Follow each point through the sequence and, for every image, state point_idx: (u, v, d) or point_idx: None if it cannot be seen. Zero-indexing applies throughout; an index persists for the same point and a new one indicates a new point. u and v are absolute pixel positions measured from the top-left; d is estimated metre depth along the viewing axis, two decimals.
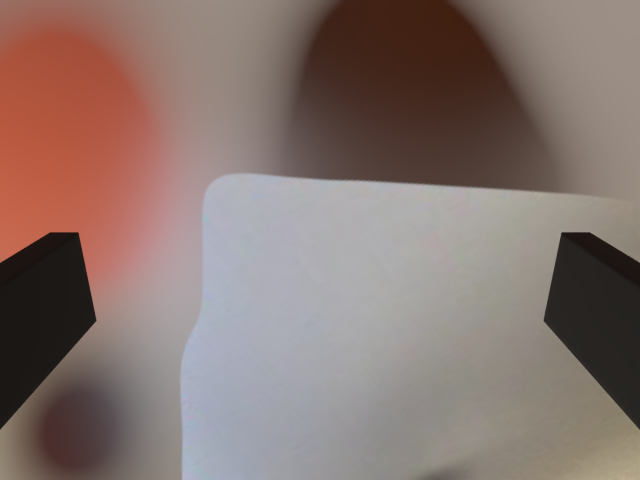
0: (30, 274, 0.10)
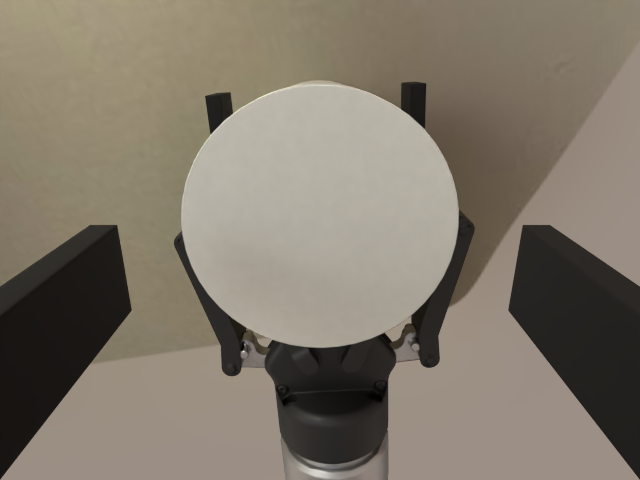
0: (79, 263, 0.11)
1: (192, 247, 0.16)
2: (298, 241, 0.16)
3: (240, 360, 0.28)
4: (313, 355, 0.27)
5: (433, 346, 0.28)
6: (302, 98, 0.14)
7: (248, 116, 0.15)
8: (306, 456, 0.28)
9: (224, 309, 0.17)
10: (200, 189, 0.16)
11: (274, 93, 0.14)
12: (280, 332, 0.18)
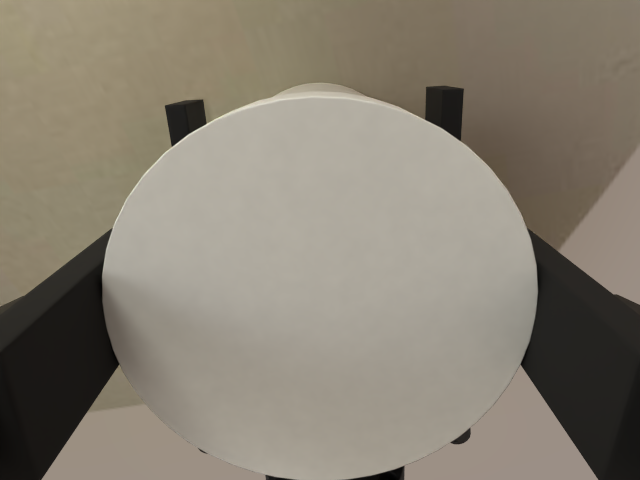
0: None
1: (122, 345, 0.11)
2: (286, 337, 0.10)
3: None
4: None
5: None
6: (291, 118, 0.09)
7: (202, 148, 0.09)
8: None
9: (176, 431, 0.11)
10: (129, 261, 0.10)
11: (244, 110, 0.09)
12: (261, 461, 0.12)
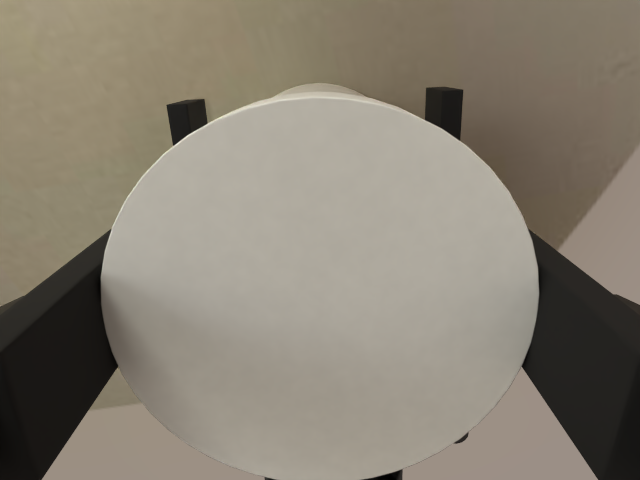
0: None
1: (367, 471, 0.12)
2: (341, 350, 0.10)
3: None
4: None
5: None
6: (133, 366, 0.11)
7: (175, 422, 0.11)
8: None
9: (463, 433, 0.11)
10: (283, 465, 0.12)
11: (138, 396, 0.11)
12: (506, 359, 0.11)
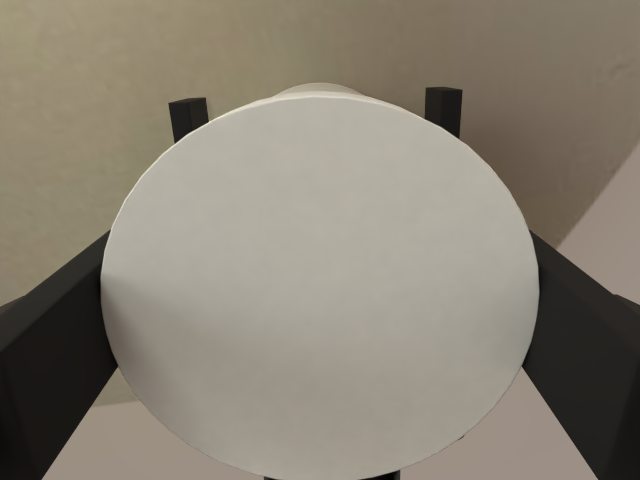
0: None
1: (521, 248, 0.10)
2: (348, 300, 0.10)
3: None
4: None
5: None
6: (385, 463, 0.12)
7: (449, 433, 0.11)
8: None
9: (457, 144, 0.09)
10: (509, 337, 0.10)
11: (420, 460, 0.12)
12: (340, 121, 0.09)
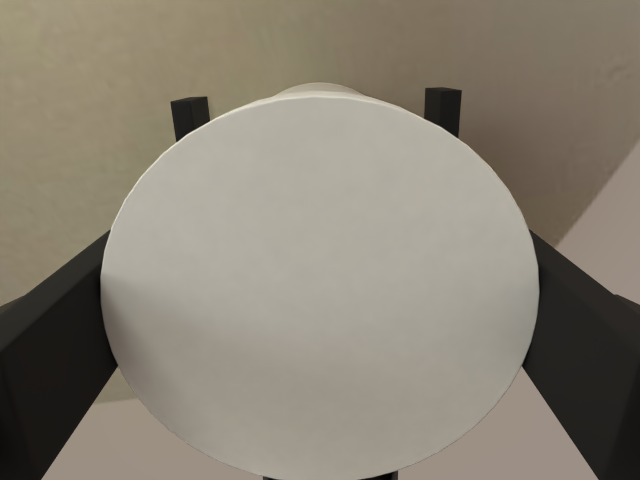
0: None
1: (198, 144, 0.09)
2: (289, 301, 0.10)
3: None
4: None
5: None
6: (508, 229, 0.09)
7: (459, 162, 0.09)
8: None
9: (113, 235, 0.09)
10: (310, 125, 0.09)
11: (504, 188, 0.09)
12: (124, 330, 0.10)
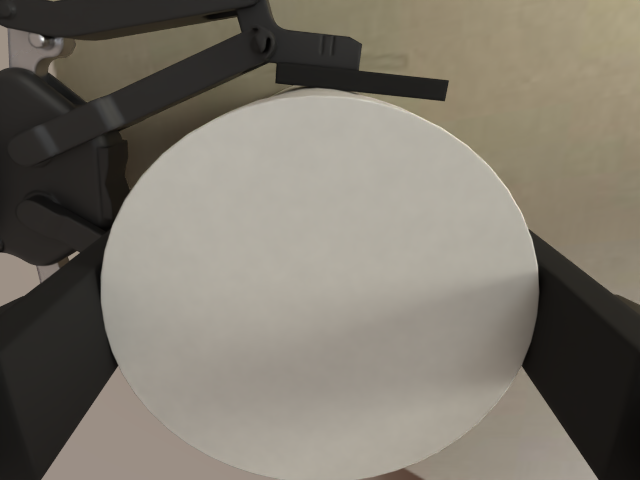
0: None
1: (198, 144, 0.09)
2: (289, 301, 0.10)
3: (24, 30, 0.17)
4: (45, 160, 0.18)
5: None
6: (508, 229, 0.09)
7: (459, 162, 0.09)
8: None
9: (113, 234, 0.09)
10: (310, 125, 0.09)
11: (504, 188, 0.09)
12: (124, 330, 0.10)
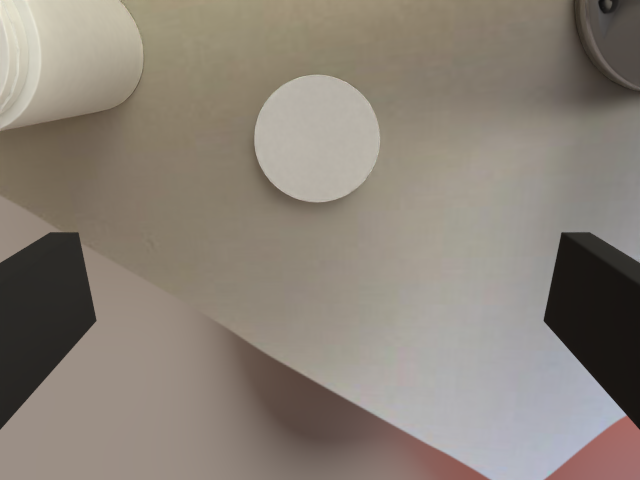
0: (30, 274, 0.10)
1: (285, 87, 0.34)
2: (308, 134, 0.35)
3: None
4: None
5: None
6: (368, 112, 0.34)
7: (353, 92, 0.34)
8: None
9: (260, 113, 0.35)
10: (314, 82, 0.34)
11: (366, 100, 0.34)
12: (260, 144, 0.35)
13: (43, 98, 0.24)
